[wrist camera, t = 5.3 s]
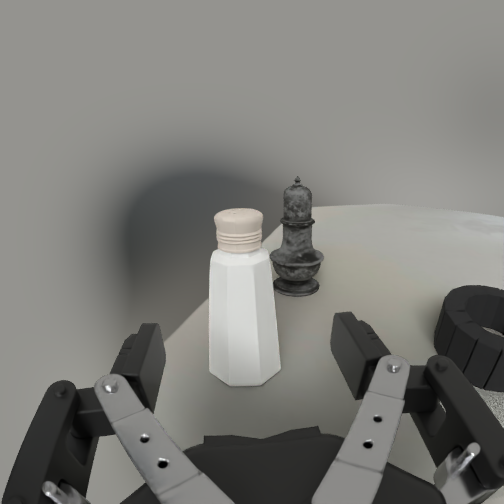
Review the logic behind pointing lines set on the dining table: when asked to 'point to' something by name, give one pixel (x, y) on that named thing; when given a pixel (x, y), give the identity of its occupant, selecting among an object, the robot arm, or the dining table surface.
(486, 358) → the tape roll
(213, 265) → the pepper shaker
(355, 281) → the dining table surface
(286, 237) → the grey chess piece
